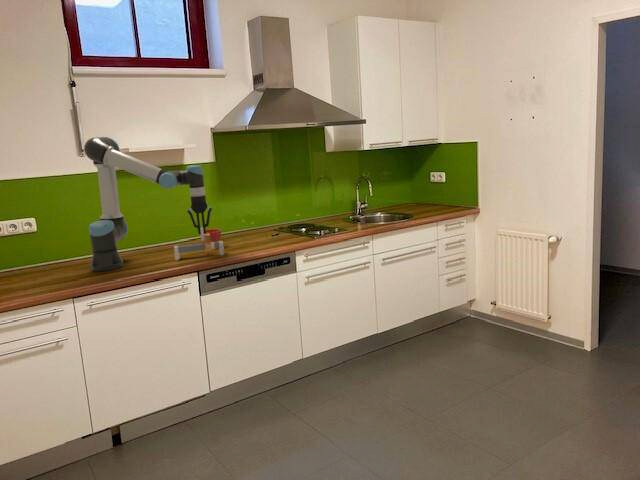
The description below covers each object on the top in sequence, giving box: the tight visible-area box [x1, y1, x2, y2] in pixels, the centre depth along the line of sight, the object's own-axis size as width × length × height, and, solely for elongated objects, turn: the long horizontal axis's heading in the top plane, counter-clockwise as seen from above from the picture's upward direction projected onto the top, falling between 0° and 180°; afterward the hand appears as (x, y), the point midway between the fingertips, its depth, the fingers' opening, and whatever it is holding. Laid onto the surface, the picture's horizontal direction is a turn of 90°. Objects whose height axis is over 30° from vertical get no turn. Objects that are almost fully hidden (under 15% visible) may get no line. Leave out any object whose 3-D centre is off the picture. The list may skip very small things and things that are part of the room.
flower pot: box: [206, 228, 222, 242], centre depth 302 cm, size 11×11×10 cm
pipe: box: [173, 240, 225, 261], centre depth 281 cm, size 25×6×7 cm, turn 104°
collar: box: [203, 234, 213, 255], centre depth 281 cm, size 3×7×10 cm, turn 15°
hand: (202, 240), depth 280 cm, fingers closed
